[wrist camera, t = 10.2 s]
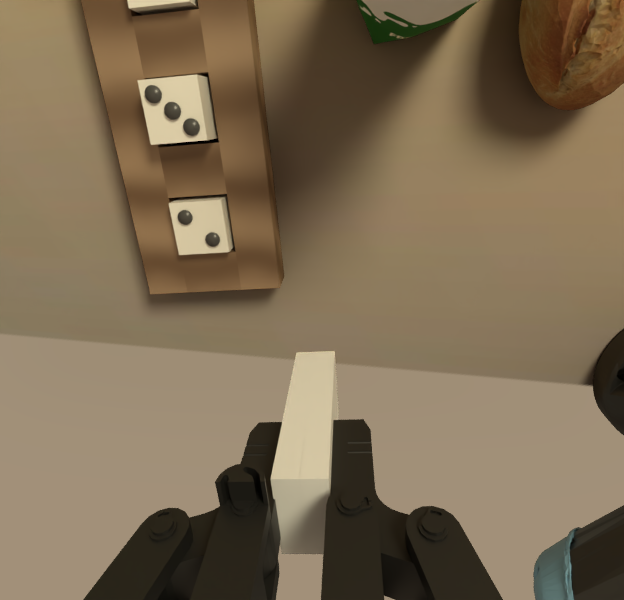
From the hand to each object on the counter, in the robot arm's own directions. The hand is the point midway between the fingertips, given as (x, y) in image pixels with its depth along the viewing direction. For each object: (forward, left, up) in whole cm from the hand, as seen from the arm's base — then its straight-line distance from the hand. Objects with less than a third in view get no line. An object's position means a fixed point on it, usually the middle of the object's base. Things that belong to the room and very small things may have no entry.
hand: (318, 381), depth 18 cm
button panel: (+15, +4, -24) cm, 29 cm away
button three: (+15, +4, -23) cm, 28 cm away
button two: (+7, +8, -24) cm, 26 cm away
